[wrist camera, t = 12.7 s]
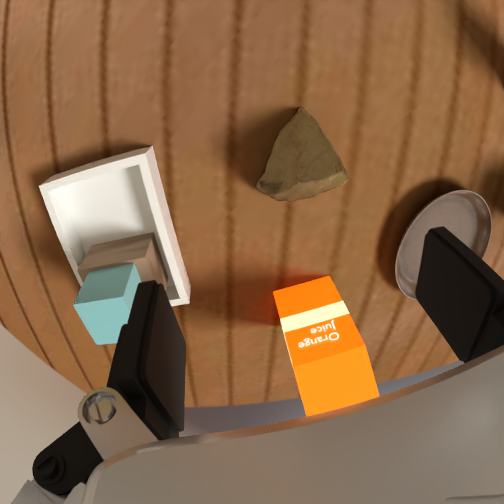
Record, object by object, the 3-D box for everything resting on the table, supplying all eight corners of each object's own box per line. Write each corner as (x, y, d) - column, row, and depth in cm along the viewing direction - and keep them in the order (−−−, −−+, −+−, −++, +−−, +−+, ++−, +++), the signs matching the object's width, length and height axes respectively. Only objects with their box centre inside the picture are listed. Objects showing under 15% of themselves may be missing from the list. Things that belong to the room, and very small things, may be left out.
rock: (274, 226, 39) (350, 192, 36) (254, 220, 30) (351, 176, 28) (242, 149, 40) (312, 116, 37) (215, 127, 31) (301, 84, 29)
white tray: (52, 175, 34) (38, 186, 30) (152, 145, 34) (145, 153, 30) (103, 299, 44) (96, 317, 41) (190, 285, 44) (189, 303, 41)
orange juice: (333, 311, 50) (378, 413, 33) (281, 326, 51) (310, 435, 33) (329, 274, 46) (383, 381, 29) (271, 290, 46) (303, 407, 29)
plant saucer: (420, 308, 54) (428, 319, 51) (362, 252, 45) (372, 264, 42) (492, 232, 47) (503, 241, 44) (452, 155, 39) (466, 162, 36)
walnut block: (91, 245, 38) (77, 270, 33) (153, 232, 39) (145, 257, 34) (110, 287, 42) (99, 315, 37) (168, 277, 42) (163, 305, 37)
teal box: (89, 271, 34) (72, 304, 28) (134, 263, 34) (122, 296, 29) (108, 310, 37) (96, 344, 32) (151, 304, 37) (144, 339, 32)
